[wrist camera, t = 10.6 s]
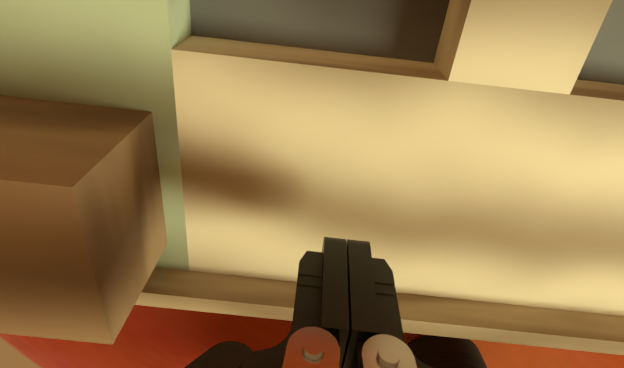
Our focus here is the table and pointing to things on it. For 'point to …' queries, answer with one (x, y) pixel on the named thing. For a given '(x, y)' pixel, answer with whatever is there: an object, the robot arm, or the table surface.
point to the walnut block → (76, 217)
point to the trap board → (366, 148)
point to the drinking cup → (447, 352)
